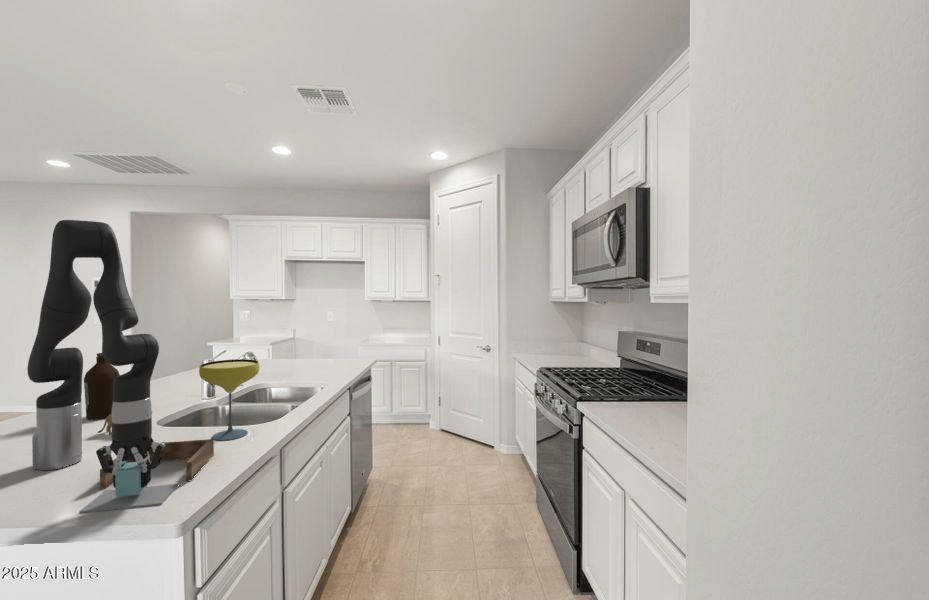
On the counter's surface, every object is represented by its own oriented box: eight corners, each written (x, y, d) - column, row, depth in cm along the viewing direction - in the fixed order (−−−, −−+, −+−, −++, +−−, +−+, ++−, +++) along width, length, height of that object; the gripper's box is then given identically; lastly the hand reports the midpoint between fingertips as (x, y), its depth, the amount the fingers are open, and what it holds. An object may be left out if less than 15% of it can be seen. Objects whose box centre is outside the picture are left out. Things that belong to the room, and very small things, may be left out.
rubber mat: (79, 513, 93) (79, 511, 93) (105, 492, 102) (105, 490, 102) (161, 504, 97) (161, 503, 97) (179, 485, 106) (178, 483, 106)
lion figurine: (150, 428, 148) (150, 403, 148) (143, 433, 143) (143, 408, 143) (101, 431, 144) (101, 406, 144) (92, 437, 139) (92, 410, 139)
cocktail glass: (216, 426, 151) (216, 359, 150) (267, 426, 152) (267, 359, 152) (187, 445, 133) (187, 368, 132) (245, 444, 134) (245, 368, 134)
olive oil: (121, 411, 168) (121, 350, 168) (118, 417, 160) (118, 353, 159) (86, 415, 162) (86, 352, 161) (81, 422, 153) (81, 356, 153)
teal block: (115, 496, 96) (115, 471, 96) (127, 486, 101) (126, 462, 101) (137, 494, 98) (137, 469, 97) (148, 484, 102) (148, 460, 102)
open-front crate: (99, 489, 104) (99, 469, 104) (135, 461, 120) (135, 444, 120) (191, 480, 109) (191, 462, 109) (213, 455, 125) (213, 439, 125)
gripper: (86, 424, 94) (87, 498, 94) (159, 420, 97) (159, 491, 98) (106, 414, 101) (106, 483, 101) (172, 410, 104) (172, 477, 105)
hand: (132, 486), depth 99 cm, fingers closed on teal block, 4 cm apart
